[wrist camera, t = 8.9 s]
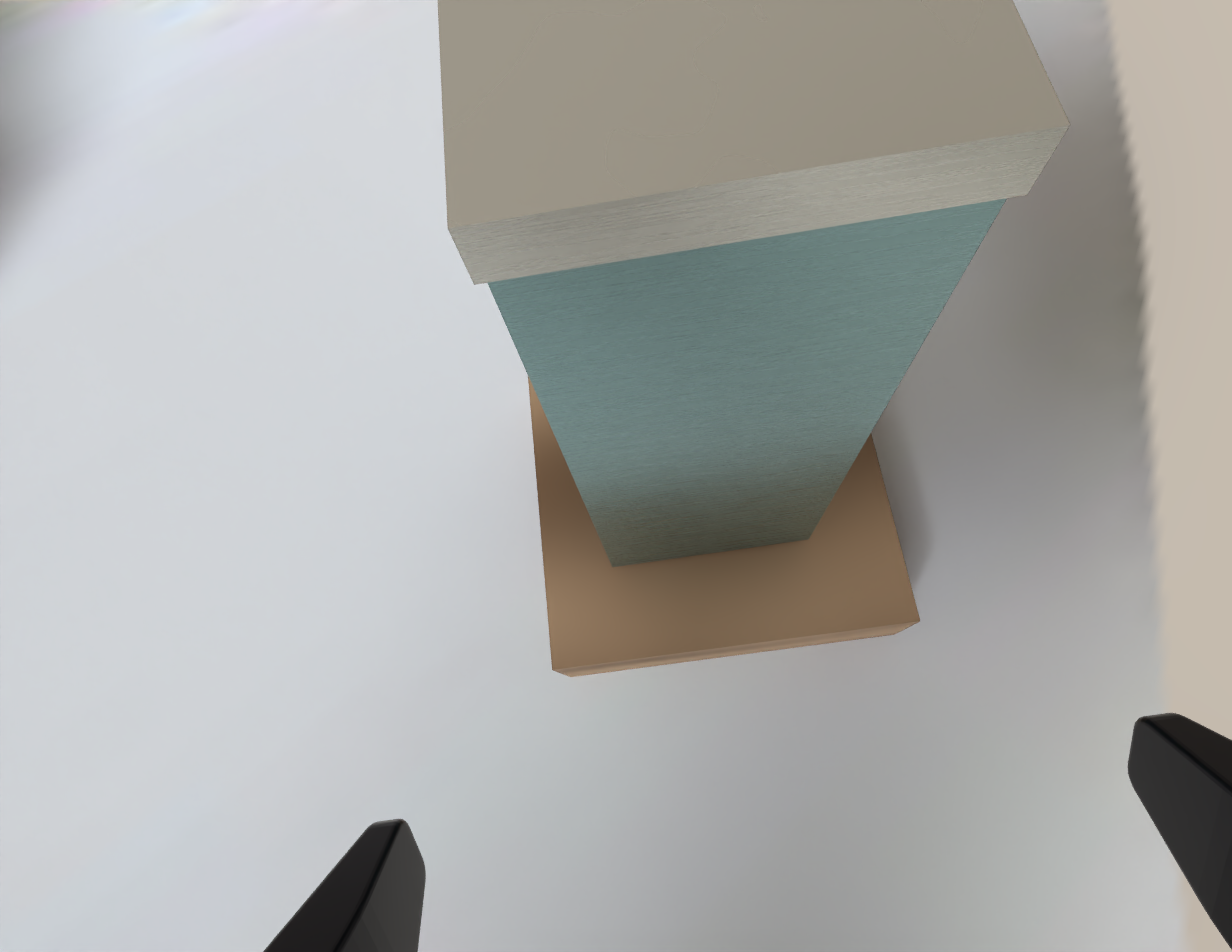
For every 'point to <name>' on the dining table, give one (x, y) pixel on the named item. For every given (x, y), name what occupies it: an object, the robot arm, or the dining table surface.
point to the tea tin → (728, 230)
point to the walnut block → (717, 580)
